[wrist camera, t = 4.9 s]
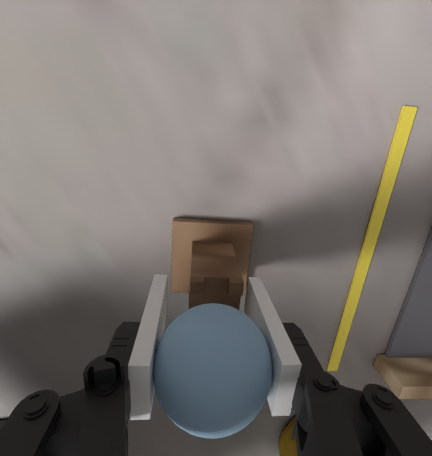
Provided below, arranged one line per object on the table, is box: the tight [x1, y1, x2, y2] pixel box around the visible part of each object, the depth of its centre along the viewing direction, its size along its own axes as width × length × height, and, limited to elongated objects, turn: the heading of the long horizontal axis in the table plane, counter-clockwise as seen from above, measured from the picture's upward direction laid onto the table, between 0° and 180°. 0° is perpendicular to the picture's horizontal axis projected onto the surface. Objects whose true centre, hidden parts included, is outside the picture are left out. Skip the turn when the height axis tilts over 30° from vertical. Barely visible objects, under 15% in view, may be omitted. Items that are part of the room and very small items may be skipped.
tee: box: [171, 218, 254, 310], centre depth 18 cm, size 6×6×6 cm
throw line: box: [327, 106, 418, 371], centre depth 22 cm, size 1×24×1 cm, turn 176°
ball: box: [153, 303, 272, 439], centre depth 11 cm, size 5×5×5 cm
